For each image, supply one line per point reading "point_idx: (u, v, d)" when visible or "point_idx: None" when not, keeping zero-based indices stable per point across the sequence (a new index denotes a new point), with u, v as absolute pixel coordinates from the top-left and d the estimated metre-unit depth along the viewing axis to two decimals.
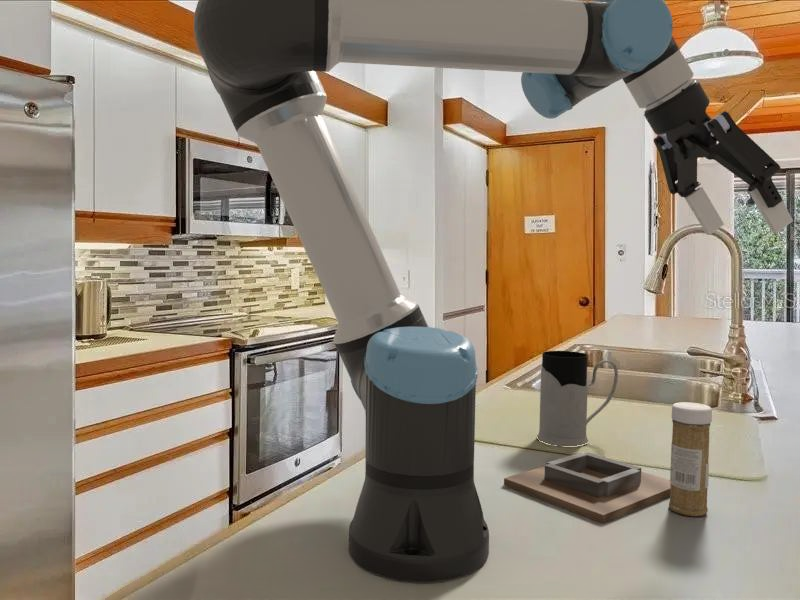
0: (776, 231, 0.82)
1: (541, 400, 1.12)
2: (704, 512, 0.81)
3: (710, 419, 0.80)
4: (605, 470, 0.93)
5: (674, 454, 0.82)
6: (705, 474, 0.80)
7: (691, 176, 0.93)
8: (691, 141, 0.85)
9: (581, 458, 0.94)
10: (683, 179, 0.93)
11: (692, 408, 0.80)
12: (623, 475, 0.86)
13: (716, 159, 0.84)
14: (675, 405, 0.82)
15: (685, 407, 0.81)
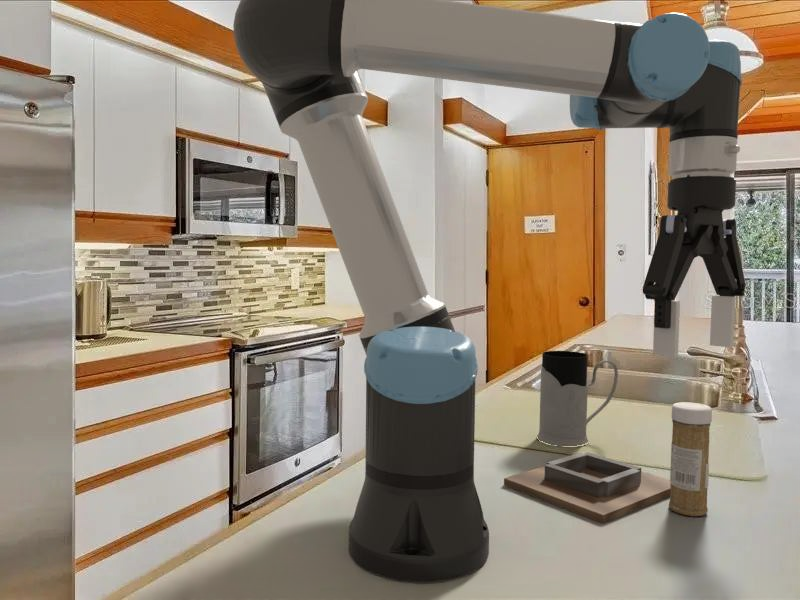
0: (653, 352, 0.78)
1: (541, 400, 1.12)
2: (704, 512, 0.81)
3: (710, 419, 0.80)
4: (605, 470, 0.93)
5: (674, 454, 0.82)
6: (705, 474, 0.80)
7: (720, 277, 0.84)
8: None
9: (581, 458, 0.94)
10: (709, 274, 0.85)
11: (692, 408, 0.80)
12: (623, 475, 0.86)
13: None
14: (675, 405, 0.82)
15: (685, 407, 0.81)
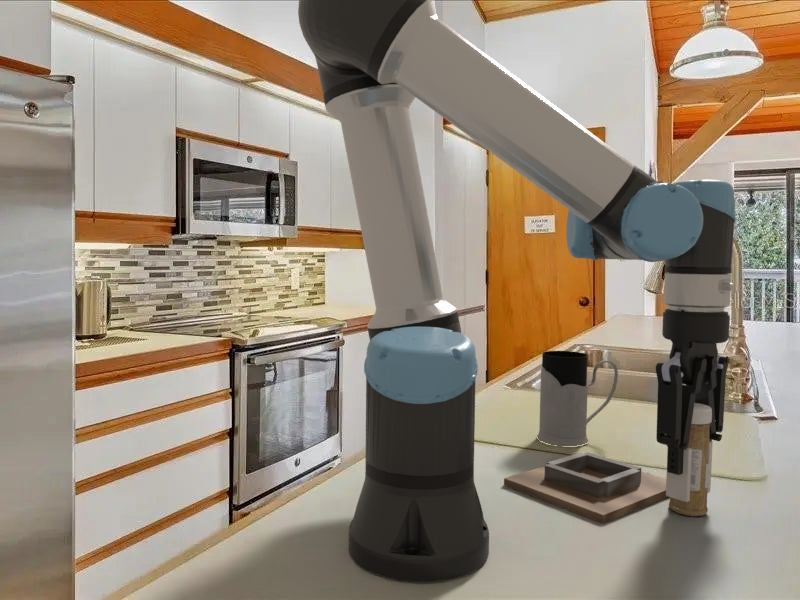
0: (666, 494, 0.82)
1: (541, 400, 1.12)
2: (704, 512, 0.81)
3: (710, 419, 0.80)
4: (605, 470, 0.93)
5: None
6: (705, 474, 0.80)
7: None
8: None
9: (581, 458, 0.94)
10: None
11: None
12: (623, 475, 0.86)
13: None
14: None
15: None
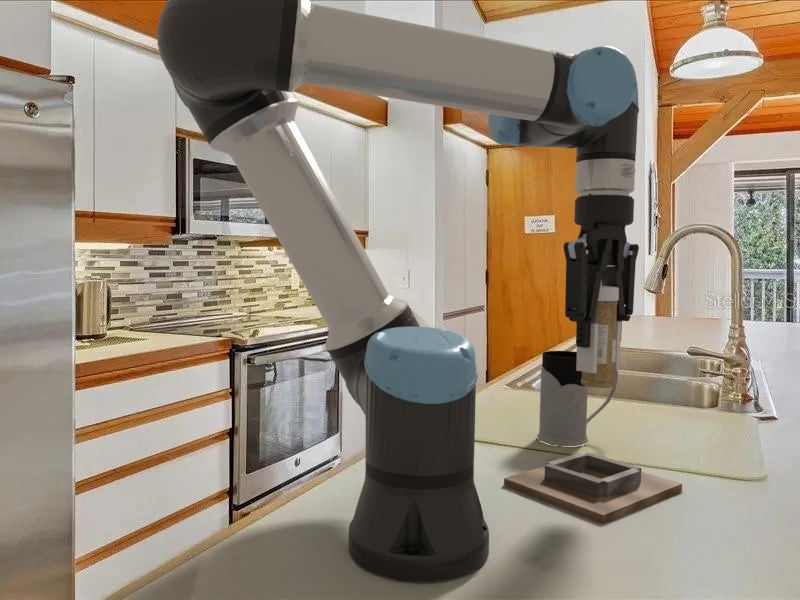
0: (576, 368, 0.88)
1: (541, 400, 1.12)
2: (611, 384, 0.87)
3: (616, 297, 0.86)
4: (605, 470, 0.93)
5: None
6: (612, 348, 0.87)
7: None
8: None
9: (581, 458, 0.94)
10: None
11: None
12: (623, 475, 0.86)
13: None
14: None
15: None
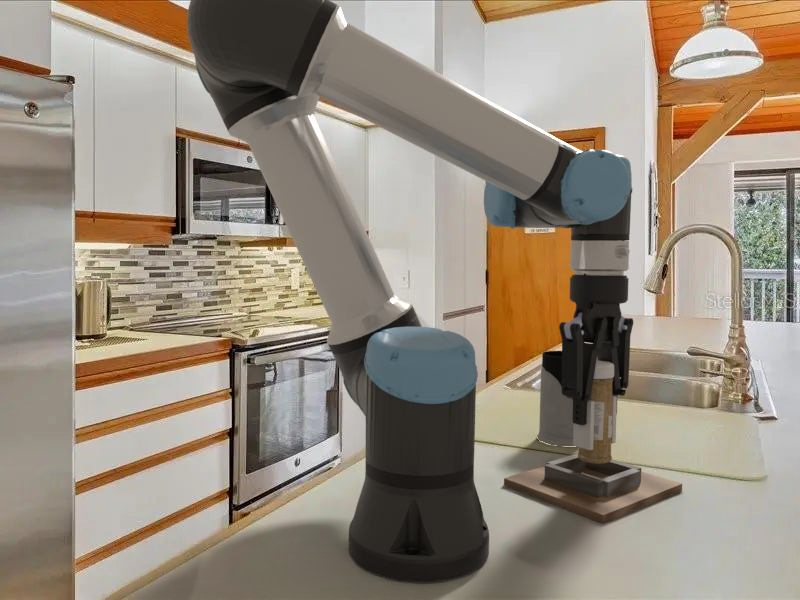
0: (573, 444, 0.89)
1: (541, 400, 1.12)
2: (607, 460, 0.88)
3: (612, 374, 0.87)
4: (605, 470, 0.93)
5: None
6: (608, 425, 0.88)
7: None
8: None
9: None
10: None
11: None
12: (623, 475, 0.86)
13: None
14: None
15: None
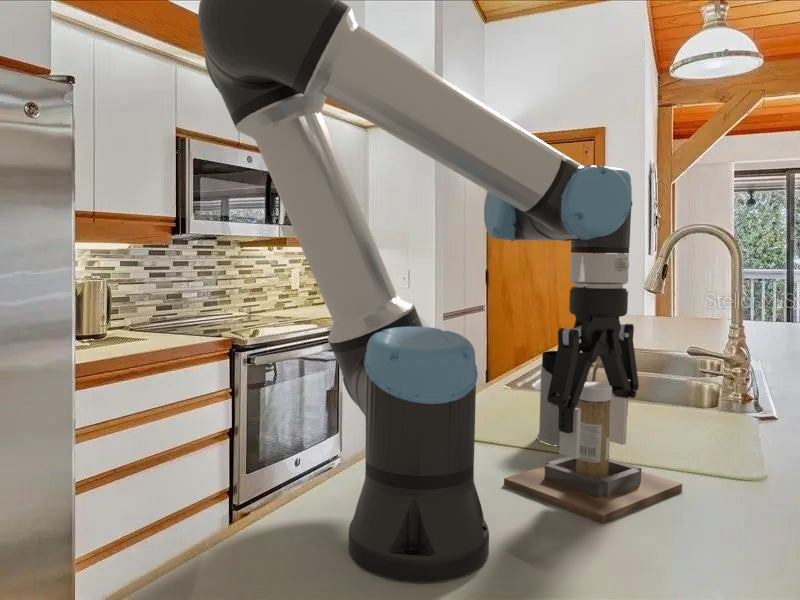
0: (559, 452, 0.87)
1: (541, 400, 1.12)
2: None
3: (609, 397, 0.87)
4: None
5: None
6: (605, 447, 0.88)
7: (615, 377, 0.92)
8: None
9: None
10: (606, 373, 0.93)
11: (593, 387, 0.87)
12: (623, 475, 0.86)
13: None
14: None
15: (587, 386, 0.88)
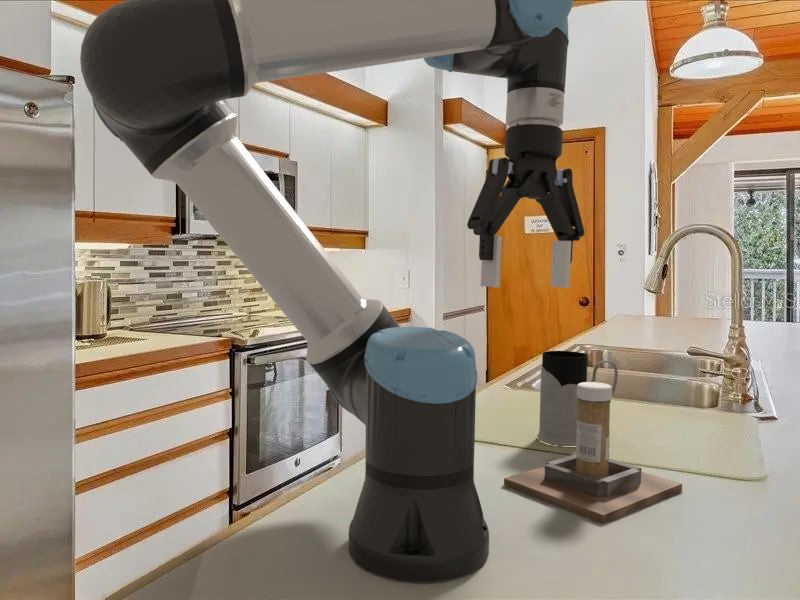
0: (481, 284, 0.85)
1: (541, 400, 1.12)
2: None
3: (609, 397, 0.88)
4: None
5: (578, 429, 0.89)
6: (605, 447, 0.88)
7: (557, 222, 0.91)
8: None
9: None
10: (549, 219, 0.92)
11: (593, 386, 0.88)
12: (623, 475, 0.86)
13: None
14: (579, 384, 0.89)
15: (587, 386, 0.88)
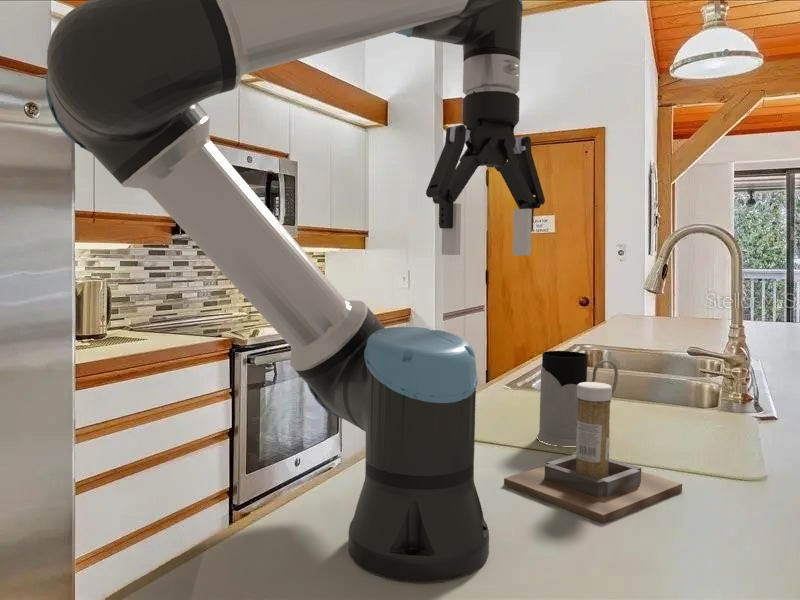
0: (442, 253, 0.86)
1: (541, 400, 1.12)
2: None
3: (609, 397, 0.88)
4: None
5: (578, 429, 0.89)
6: (605, 447, 0.88)
7: (517, 190, 0.92)
8: None
9: None
10: (509, 188, 0.92)
11: (593, 386, 0.88)
12: (623, 475, 0.86)
13: None
14: (579, 384, 0.89)
15: (587, 386, 0.88)
